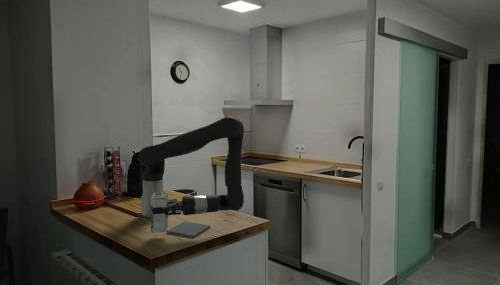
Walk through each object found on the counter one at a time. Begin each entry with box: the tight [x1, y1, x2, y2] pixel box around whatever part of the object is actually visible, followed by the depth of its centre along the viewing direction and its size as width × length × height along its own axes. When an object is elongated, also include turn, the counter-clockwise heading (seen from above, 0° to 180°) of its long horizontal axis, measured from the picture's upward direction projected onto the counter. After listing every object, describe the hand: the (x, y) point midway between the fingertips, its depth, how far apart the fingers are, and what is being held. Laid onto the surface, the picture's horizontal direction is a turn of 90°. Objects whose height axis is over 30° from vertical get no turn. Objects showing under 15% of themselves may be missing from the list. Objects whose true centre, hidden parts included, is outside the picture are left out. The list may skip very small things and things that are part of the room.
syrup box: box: [150, 192, 169, 234], centre depth 135 cm, size 6×6×14 cm
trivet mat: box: [166, 221, 211, 239], centre depth 144 cm, size 13×13×1 cm
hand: (152, 208), depth 134 cm, fingers closed on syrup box, 6 cm apart
